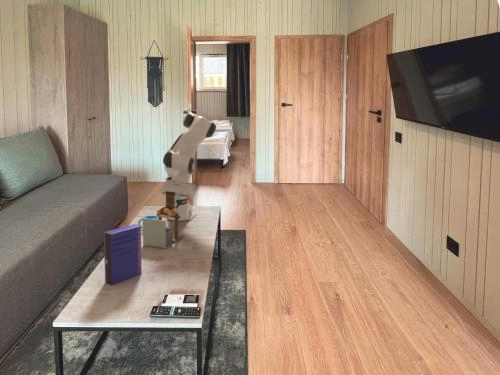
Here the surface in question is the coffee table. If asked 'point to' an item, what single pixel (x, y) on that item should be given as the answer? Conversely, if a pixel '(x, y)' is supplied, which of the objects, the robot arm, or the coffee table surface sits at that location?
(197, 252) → the coffee table surface
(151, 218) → the mug
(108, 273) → the cereal box
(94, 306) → the coffee table surface
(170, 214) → the chute
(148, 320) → the coffee table surface
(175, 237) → the stand
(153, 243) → the bin
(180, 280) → the coffee table surface
